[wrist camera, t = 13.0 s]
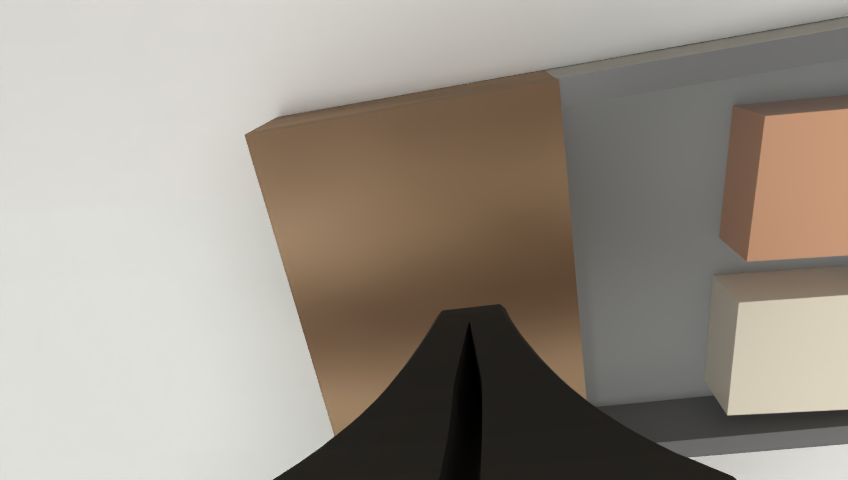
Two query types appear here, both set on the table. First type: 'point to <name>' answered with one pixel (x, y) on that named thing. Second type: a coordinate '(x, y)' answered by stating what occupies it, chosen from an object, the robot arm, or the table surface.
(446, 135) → the walnut board
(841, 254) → the terracotta tile
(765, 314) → the cream tile
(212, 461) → the table surface
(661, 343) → the bin
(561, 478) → the robot arm
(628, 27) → the table surface
